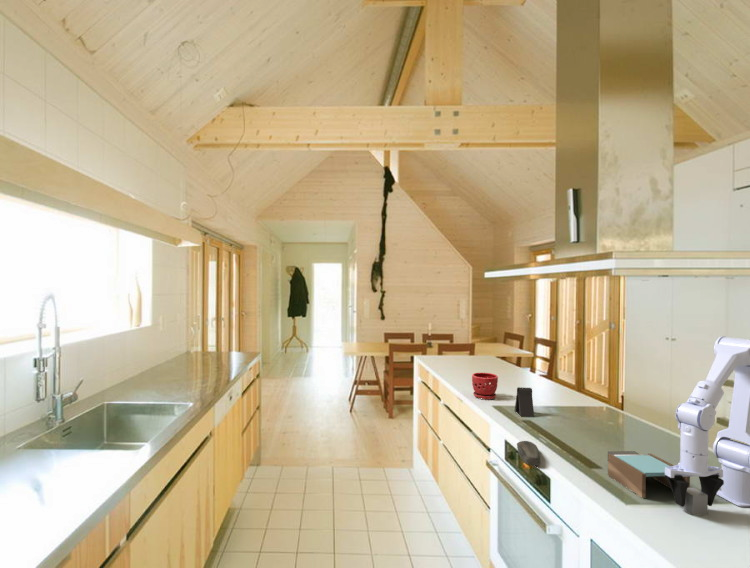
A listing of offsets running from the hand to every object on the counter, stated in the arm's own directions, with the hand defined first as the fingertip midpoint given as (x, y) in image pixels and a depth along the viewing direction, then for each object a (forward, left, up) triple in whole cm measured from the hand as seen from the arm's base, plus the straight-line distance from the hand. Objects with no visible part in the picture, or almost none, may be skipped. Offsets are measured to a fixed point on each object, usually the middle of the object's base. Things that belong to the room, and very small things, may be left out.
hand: (693, 504), depth 105 cm
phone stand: (+6, -83, -2) cm, 83 cm away
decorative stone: (+27, -35, -2) cm, 44 cm away
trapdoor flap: (+2, -16, +1) cm, 16 cm away
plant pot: (+14, -112, -2) cm, 113 cm away
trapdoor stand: (+2, -14, -2) cm, 14 cm away
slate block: (0, 0, -2) cm, 2 cm away
